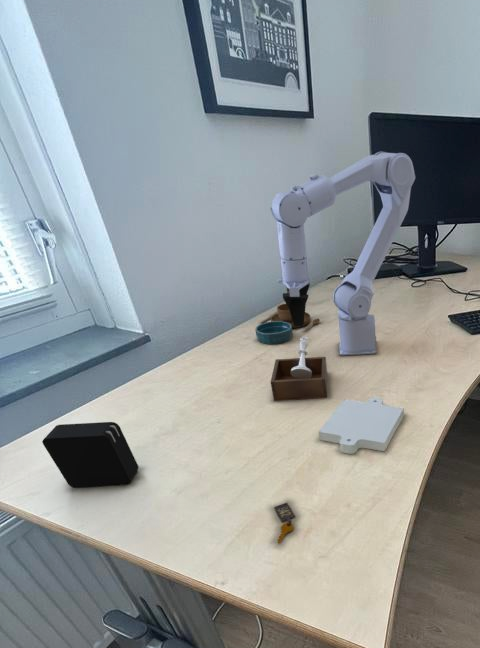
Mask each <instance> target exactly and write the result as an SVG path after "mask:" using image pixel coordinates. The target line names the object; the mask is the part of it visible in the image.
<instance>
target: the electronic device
mask: <svg viewBox="0 0 480 648" xmlns="http://www.w3.org/2000/svg"><path fill="white" fill-rule="evenodd" d="M41 443H42V445H43V447H44V448H45V450H46V451H47V453H48V454H49V457H51V460H52V461H53V462H54V464H55V466H56V467H57V469H58V470H59V472H60V474H61V475H62V477H63V478H64V480H65V482H66V483H67V486H69V487H70V488H74V489H83V488H85V489H86V488H98V487H101V488H103V487H115V486H116V487H117V486H128V485H130V483H131V482H132V481H133V479H134V477H135V475H136V473H137V471H138V470H139V464H138V463H137V459H136V458H135V456H134V453H133V452H132V450H131V448H130V445H129V443H128V442H127V439H126V437H125V435H124V432H123V430H122V429H121V426H120V425H119V424H118V423H117V422H114V421H100V422H85V423H83V422H82V423H81V422H80V423H65V424H63V423H62V424H57V425H55V426H54V428H53V429H51V431H50V432H49V433H48V434H46V436H45V437H44V438H43V439H42V441H41Z"/></svg>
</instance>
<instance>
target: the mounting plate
mask: <svg viewBox="0 0 480 648" xmlns="http://www.w3.org/2000/svg"><path fill="white" fill-rule="evenodd" d="M404 412H405V408H404V407H401V406H393V405H385V404H384V400H383V399H382V398H381V397H376V396H375V397H370V398H368V400H367V401H358V400H352V399H345V398H344V399H343V401H341V403H340V405H339V406H338V407H337V408H336V409H335V411H334V412H333V413H331V416H329V418H328V419H327V421H325V423H324V424H323V426H322V427H321V428H320V429H319V431H318V436H319V441H322V442H327V443H333V444H339V448H340V452H341V453H343V454H348V455H349V454H350V455H353V454H355V453H357V451H358V450H359V449H369V450H374V451H379V452H385V451H386V449H387V448H388V445H389V444H390V442H391V440H392V438H393V437H394V435H395V433H396V432H397V429H398V428H399V426H400V424H401V423H402V420H403V418H404V416H405V413H404Z"/></svg>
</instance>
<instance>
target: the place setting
mask: <svg viewBox="0 0 480 648" xmlns="http://www.w3.org/2000/svg"><path fill="white" fill-rule="evenodd" d="M286 293H289V291H288V289H287V288H286ZM268 320H270V322H272V321H283V322H288V323H290V324H291V325H292V329H297V328H298V329H299V328H301V327H304V326H305V325H307V324H308V323H310V320H311V315H310V313H308V312H306V311H305V315H304V324H303V326H294V324H293V321H292V317H291V314H290V311H289V308H288V306H287V304H286V303H281V304H279V305H278V306H277V307H276V311H275V312H274V313H273V314H272V315H270V316H269V317H268V318H266V319H264V320H262V321H261V322H260V324H262V323H266V322H268ZM319 322H320V318H316V319H313V320H312V323H311V324H310V325H308V326H307V327H306V328H305V329H304V331H305V332H306V331H308V330H309V329H310V328H311V327H312V326H313V325H316V324H318V323H319Z"/></svg>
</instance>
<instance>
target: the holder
mask: <svg viewBox="0 0 480 648" xmlns="http://www.w3.org/2000/svg"><path fill="white" fill-rule="evenodd" d="M299 361H300V357H295V358H281V359H280V358H277V359H275V361H274V364H273V369H272V374H271V378H270V387H271V391H272V396H273V401H275V402H276V401H292V400H293V401H294V400H295V401H296V400H311V399H326V398H328V366H327V357H326V356H315V357H312V356H311V357H305V366H306V367H307V368H309V369H310V370H311V371H312V377H311V378H307V379H297V378H295V377H293V376H292V375H291V374H290V372H291V369H292V368H293V367H296V366H298V365H299Z"/></svg>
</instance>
